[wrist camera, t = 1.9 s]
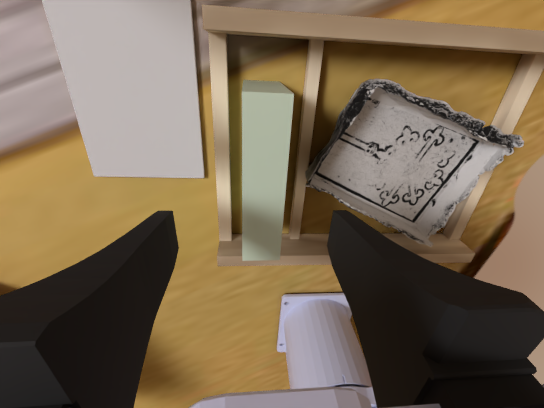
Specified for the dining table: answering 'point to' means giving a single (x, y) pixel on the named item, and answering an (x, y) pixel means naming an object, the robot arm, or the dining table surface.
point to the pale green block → (264, 166)
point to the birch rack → (316, 28)
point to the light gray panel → (132, 84)
